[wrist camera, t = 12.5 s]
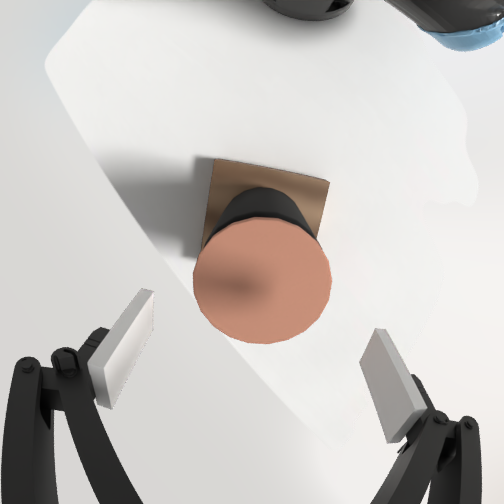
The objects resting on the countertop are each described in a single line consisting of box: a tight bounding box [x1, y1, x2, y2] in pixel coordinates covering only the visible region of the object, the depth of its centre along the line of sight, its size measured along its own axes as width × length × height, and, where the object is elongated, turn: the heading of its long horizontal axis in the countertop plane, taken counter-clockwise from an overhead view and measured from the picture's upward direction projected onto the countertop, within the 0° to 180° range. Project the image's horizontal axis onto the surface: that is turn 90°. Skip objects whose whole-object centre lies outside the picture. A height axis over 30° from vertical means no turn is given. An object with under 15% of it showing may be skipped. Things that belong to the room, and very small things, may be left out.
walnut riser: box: [201, 159, 330, 251], centre depth 41 cm, size 15×15×3 cm
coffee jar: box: [193, 187, 332, 344], centre depth 31 cm, size 11×11×18 cm
